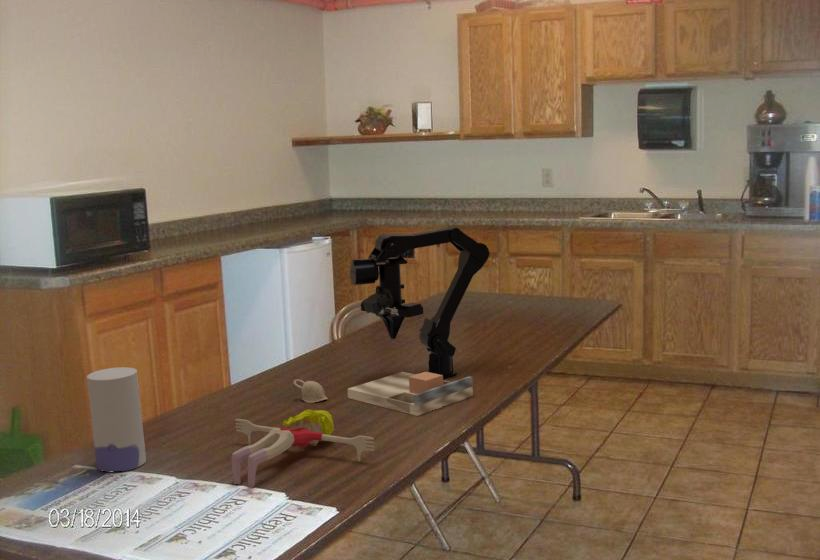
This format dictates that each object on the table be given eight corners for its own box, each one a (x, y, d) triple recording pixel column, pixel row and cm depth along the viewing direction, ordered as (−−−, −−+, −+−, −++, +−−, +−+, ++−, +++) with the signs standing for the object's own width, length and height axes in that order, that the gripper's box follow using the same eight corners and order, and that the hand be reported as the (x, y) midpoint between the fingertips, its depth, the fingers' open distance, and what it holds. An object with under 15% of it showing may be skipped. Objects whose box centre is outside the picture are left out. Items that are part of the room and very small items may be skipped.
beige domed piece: (320, 404, 224) (318, 383, 224) (293, 401, 228) (291, 381, 228) (329, 399, 228) (327, 379, 227) (302, 396, 232) (300, 376, 231)
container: (151, 454, 193) (142, 365, 190) (139, 471, 183) (129, 377, 180) (105, 457, 193) (95, 367, 190) (90, 474, 183) (79, 380, 180)
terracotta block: (426, 386, 226) (425, 371, 225) (443, 390, 222) (442, 375, 221) (409, 392, 222) (408, 376, 221) (426, 396, 218) (426, 380, 217)
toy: (375, 464, 181) (373, 423, 180) (237, 491, 170) (234, 447, 169) (332, 425, 207) (330, 388, 206) (210, 446, 196) (207, 408, 195)
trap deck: (403, 380, 242) (402, 362, 241) (472, 396, 225) (472, 376, 224) (348, 398, 228) (346, 379, 228) (417, 415, 211) (416, 395, 210)
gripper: (344, 283, 238) (347, 340, 240) (393, 289, 225) (396, 349, 227) (374, 277, 246) (377, 332, 248) (423, 282, 233) (426, 340, 235)
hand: (393, 338), depth 240 cm, fingers closed
